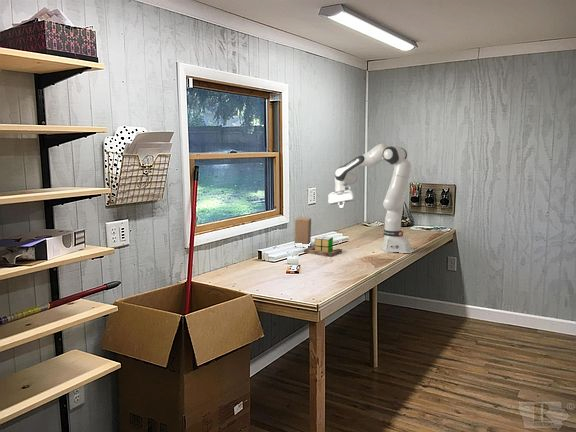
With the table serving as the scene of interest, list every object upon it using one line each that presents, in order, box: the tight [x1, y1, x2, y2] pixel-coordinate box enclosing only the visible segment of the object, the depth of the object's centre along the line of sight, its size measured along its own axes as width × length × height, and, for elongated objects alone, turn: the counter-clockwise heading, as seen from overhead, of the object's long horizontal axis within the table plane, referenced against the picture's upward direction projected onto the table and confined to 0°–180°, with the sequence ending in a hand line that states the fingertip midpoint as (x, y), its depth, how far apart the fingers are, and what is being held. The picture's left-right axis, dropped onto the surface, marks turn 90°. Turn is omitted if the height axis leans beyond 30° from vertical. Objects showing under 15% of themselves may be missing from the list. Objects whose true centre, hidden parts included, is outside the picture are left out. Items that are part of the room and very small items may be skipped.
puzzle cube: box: [314, 235, 334, 252], centre depth 341 cm, size 10×10×10 cm
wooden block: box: [294, 216, 312, 244], centre depth 357 cm, size 10×10×20 cm
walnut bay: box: [303, 245, 343, 258], centre depth 340 cm, size 20×17×2 cm
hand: (341, 208), depth 368 cm, fingers closed
